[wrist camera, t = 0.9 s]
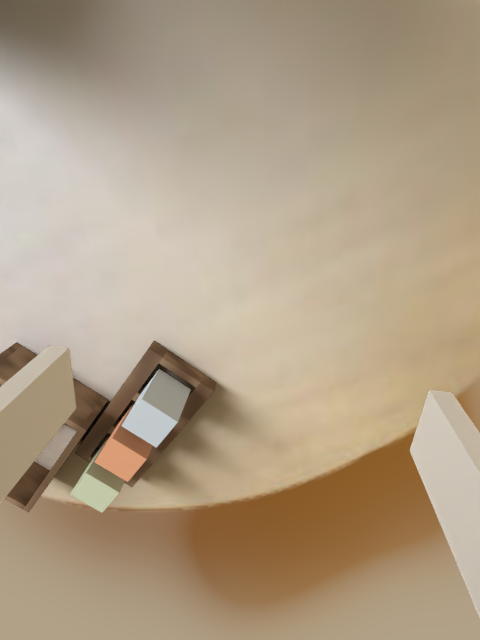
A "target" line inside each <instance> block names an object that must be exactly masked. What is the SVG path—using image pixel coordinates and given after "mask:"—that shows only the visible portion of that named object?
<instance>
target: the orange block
mask: <svg viewBox="0 0 480 640" xmlns="http://www.w3.org/2000/svg"><path fill="white" fill-rule="evenodd" d="M132 407H133V405H132V406H131V407H130V409H129V410H128V411H127V413H126V414H125V415H124V417H123V418H122V419H121V421H120V422H119V423H118V425H117V426H116V427H115V429H114V431H113V432H112V434H111V436H110V437H109V439H108V440H107V442H106V444H105V445H104V447H103V449H102V450H101V452H100V453H99V455H98V457H97V458H96V460H95V461H94V462H95V463H96V464H98V465H100V466H101V467H103V468H105V469H106V470H108V471H110V472H112V473H113V474H115V475H117V476H118V477H120V478H122V479H123V480H125V481H127V482H128V481H129V480H130V479H131V478H132V476H133V475H134V474H135V473H136V472H137V471H138V469H139V468H140V467H141V466H142V465H143V463H144V462H145V461H146V460H147V458H148V456H149V453H150V451H151V449H152V447H153V445H151V444H150V443H148V442H146V441H145V440H143V439H141V438H140V437H138V436H137V435H135V434H133V433H132V432H130V431H129V430H127V429H125V428H124V427H122V424H123V422H124V421H125V419H126V417H127V416H128V414H129V412H130V411H131V409H132Z"/></svg>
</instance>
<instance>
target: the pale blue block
mask: <svg viewBox="0 0 480 640" xmlns="http://www.w3.org/2000/svg"><path fill="white" fill-rule="evenodd" d="M190 390H191V389H189V388H188V387H186V386H185V385H183V384H182V383H180V382H178V381H177V380H175V379H174V378H172V377H171V376H169V375H168V374H166V373H165V372H163V371H162V370H160V369H159V370H158V371H157V372H156V374H155V375H154V376H153V378H152V379H151V380H150V382H149V383H148V384H147V386H146V387H145V388H144V390H143V391H142V393H141V394H140V396H139V397H138V399H137V401H136V402H135V404H134V406H133V407H132V409H131V411H130V412H129V414H128V416H127V417H126V419H125V421H124V422H123V424H122V427H124V428H125V429H127V430H129V431H130V432H132V433H133V434H135V435H137V436H138V437H140V438H141V439H143V440H145V441H146V442H148V443H150V444H151V445H153V446H154V447H156V448H157V447H158V445H159V444H160V443H161V442H162V441H163V439H164V438H165V437H166V436H167V435H168V433H169V432H170V431H171V430H172V429H173V427H174V426H175V425H176V424H177V423H178V421H179V418H180V416H181V413H182V411H183V408H184V406H185V403H186V401H187V398H188V396H189V393H190Z"/></svg>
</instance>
